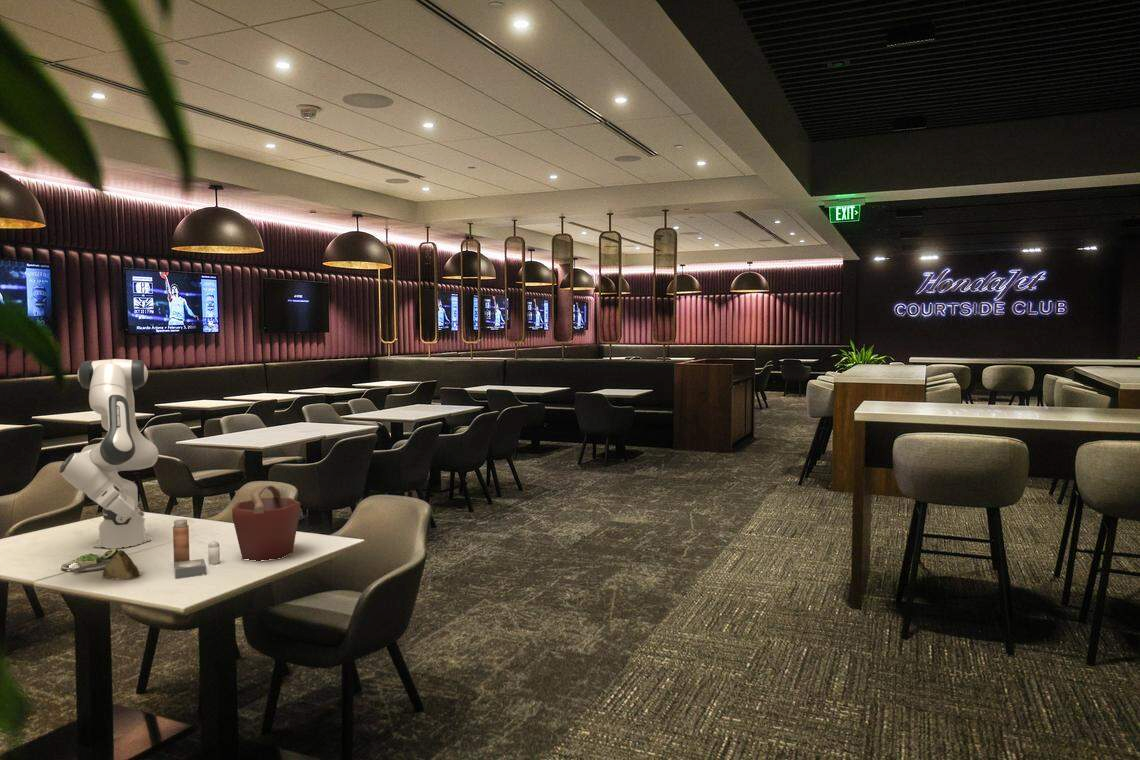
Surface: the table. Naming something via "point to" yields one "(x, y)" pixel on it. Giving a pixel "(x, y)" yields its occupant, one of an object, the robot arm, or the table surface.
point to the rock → (121, 567)
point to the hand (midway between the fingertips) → (143, 518)
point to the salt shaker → (213, 552)
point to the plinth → (189, 568)
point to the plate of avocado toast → (91, 561)
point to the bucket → (266, 525)
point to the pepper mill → (181, 540)
